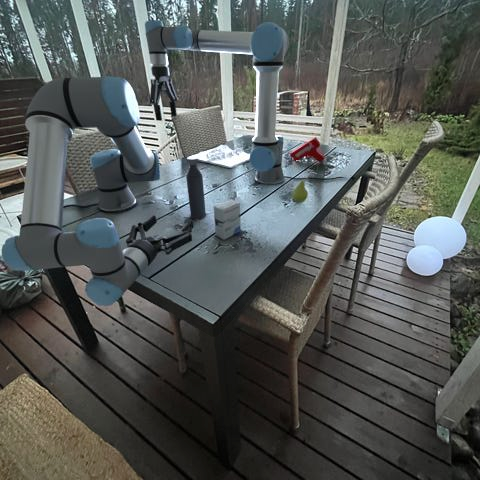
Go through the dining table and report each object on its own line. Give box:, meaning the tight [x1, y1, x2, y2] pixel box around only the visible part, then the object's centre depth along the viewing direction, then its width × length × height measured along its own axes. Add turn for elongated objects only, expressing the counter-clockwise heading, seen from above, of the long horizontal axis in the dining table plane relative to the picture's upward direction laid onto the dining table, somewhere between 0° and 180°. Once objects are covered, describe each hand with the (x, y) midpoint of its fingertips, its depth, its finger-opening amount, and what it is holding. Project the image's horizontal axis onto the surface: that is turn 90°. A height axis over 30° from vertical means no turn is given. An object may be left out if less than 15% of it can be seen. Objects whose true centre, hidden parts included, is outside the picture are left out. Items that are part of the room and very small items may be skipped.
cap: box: [186, 155, 199, 166], centre depth 99 cm, size 4×4×2 cm
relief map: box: [189, 143, 250, 169], centre depth 179 cm, size 27×35×5 cm
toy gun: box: [289, 136, 326, 164], centre depth 169 cm, size 18×4×15 cm
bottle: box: [185, 164, 207, 220], centre depth 105 cm, size 6×6×23 cm
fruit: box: [291, 174, 311, 204], centre depth 118 cm, size 7×8×12 cm
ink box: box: [213, 198, 242, 240], centre depth 96 cm, size 8×5×12 cm, turn 135°
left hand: (173, 221), depth 90 cm, fingers open, 13 cm apart
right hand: (167, 118), depth 131 cm, fingers open, 13 cm apart
